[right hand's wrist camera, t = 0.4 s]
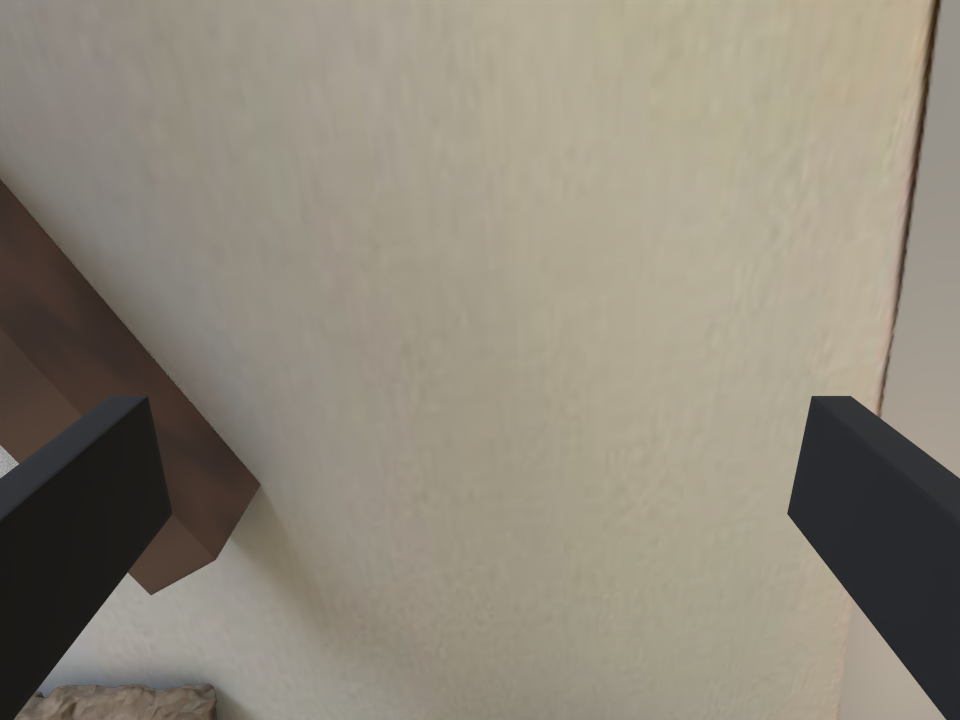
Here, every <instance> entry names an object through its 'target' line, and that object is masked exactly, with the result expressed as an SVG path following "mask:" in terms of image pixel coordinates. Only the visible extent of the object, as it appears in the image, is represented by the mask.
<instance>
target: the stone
mask: <svg viewBox="0 0 960 720" xmlns="http://www.w3.org/2000/svg"><path fill="white" fill-rule="evenodd" d="M216 702H217V701H216V694H215V691H214V689H213V686H212V685H210V684H201V685H188V684H187V685H185V686H183V687H179V688H169V689H163V690H157V689H154V688H149V687H147V686H145V685H135V684H132V685H129V686H125V685H121V686H119V687H116V688H113V687H101V686H98V685H91V686H78V685H66V686H65V687H57V688H54V690H53V691H52V693H51V694H50V696H49V697H48V698H44V697H43V695H42V692H38V691H35V693H34V694H33V695H32V697H31V698H30V699H29V700H28V702H27V703H26V704H25V706H24V707H23V708H22V710H21V711H20V712H19V713H18V715H17V716H16V717H15V719H14V720H216V709H215V704H216Z"/></svg>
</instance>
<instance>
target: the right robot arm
mask: <svg viewBox="0 0 960 720" xmlns="http://www.w3.org/2000/svg"><path fill="white" fill-rule="evenodd" d="M172 514H173V513H172V508H171V504H170V499H169V494H168V489H167V484H166V480H165V475H164V470H163V465H162V460H161V456H160V451H159V446H158V441H157V436H156V432H155V427H154V422H153V417H152V412H151V408H150V403H149V398H148V396H109V397H108V398H106V399H105V400H104V401H102V402H101V403H100V404H98V405H97V406H96V407H94V408H93V409H92V410H90V411H89V412H88V413H86V414H85V415H84V416H82V417H81V418H80V419H78V420H77V421H76V422H74V423H73V424H72V425H70V426H69V427H68V428H67V429H65V430H64V431H63V432H61V433H60V434H59V435H57V436H56V437H55V438H53V439H52V440H51V441H49V442H48V443H47V444H45V445H44V446H43V447H41V448H40V449H39V450H37V451H36V452H35V453H33V454H32V455H31V456H29V457H28V458H27V459H26V460H24V461H23V462H22V463H20V464H19V465H18V466H16V467H15V468H14V469H12V470H11V471H10V472H8V473H7V474H6V475H4V476H3V477H2V478H0V720H14V719H15V717H16V716H17V715H18V713H19V712H20V711H21V710H22V708H23V707H24V706H25V704H26V703H27V702H28V700H29V699H30V698H31V697H32V695H33V694H34V693H35V691H36V690H37V689H38V688H39V686H40V685H41V684H42V682H43V681H44V680H45V678H46V677H47V676H48V675H49V673H50V672H51V671H52V669H53V668H54V667H55V666H56V664H57V663H58V662H59V660H60V659H61V658H62V656H63V655H64V654H65V653H66V651H67V650H68V649H69V647H70V646H71V645H72V643H73V642H74V641H75V640H76V638H77V637H78V636H79V634H80V633H81V632H82V631H83V629H84V628H85V627H86V625H87V624H88V623H89V621H90V620H91V619H92V618H93V616H94V615H95V614H96V612H97V611H98V610H99V609H100V607H101V606H102V605H103V603H104V602H105V601H106V599H107V598H108V597H109V596H110V594H111V593H112V592H113V590H114V589H115V588H116V587H117V585H118V584H119V583H120V581H121V580H122V579H123V577H124V576H125V575H126V574H127V572H128V571H129V570H130V568H131V567H132V566H133V565H134V563H135V562H136V561H137V559H138V558H139V557H140V555H141V554H142V553H143V552H144V550H145V549H146V548H147V546H148V545H149V544H150V543H151V541H152V540H153V539H154V537H155V536H156V535H157V533H158V532H159V531H160V530H161V528H162V527H163V526H164V524H165V523H166V522H167V520H168V519H169V518H170V517H171V515H172ZM787 514H788V515H789V517H790V518H791V519H792V520H793V522H794V523H795V524H796V526H797V527H798V528H799V530H800V531H801V532H802V533H803V535H804V536H805V537H806V539H807V540H808V541H809V543H810V544H811V545H812V546H813V548H814V549H815V550H816V552H817V553H818V554H819V555H820V557H821V558H822V559H823V561H824V562H825V563H826V565H827V566H828V567H829V568H830V570H831V571H832V572H833V574H834V575H835V576H836V577H837V579H838V580H839V581H840V583H841V584H842V585H843V587H844V588H845V589H846V590H847V592H848V593H849V594H850V596H851V597H852V598H853V599H854V601H855V602H856V603H857V605H858V606H859V607H860V608H861V610H862V611H863V612H864V614H865V615H866V616H867V618H868V619H869V620H870V621H871V623H872V624H873V625H874V627H875V628H876V629H877V631H878V632H879V633H880V634H881V636H882V637H883V638H884V640H885V641H886V642H887V643H888V645H889V646H890V647H891V649H892V650H893V651H894V653H895V654H896V655H897V656H898V658H899V659H900V660H901V662H902V663H903V664H904V666H905V667H906V668H907V669H908V671H909V672H910V673H911V674H912V676H913V677H914V678H915V680H916V681H917V682H918V684H919V685H920V686H921V688H922V689H923V690H924V691H925V693H926V694H927V695H928V697H929V698H930V699H931V700H932V702H933V703H934V704H935V706H936V707H937V708H938V710H939V711H940V712H941V713H942V715H943V716H944V717H945V719H946V720H960V478H958V477H957V476H956V475H954V474H953V473H952V472H950V471H949V470H948V469H946V468H945V467H944V466H942V465H941V464H940V463H938V462H937V461H936V460H934V459H933V458H932V457H930V456H929V455H928V454H927V453H925V452H924V451H923V450H921V449H920V448H919V447H917V446H916V445H915V444H913V443H912V442H911V441H909V440H908V439H907V438H905V437H904V436H903V435H901V434H900V433H899V432H897V431H896V430H895V429H893V428H892V427H891V426H890V425H888V424H887V423H886V422H884V421H883V420H882V419H880V418H879V417H878V416H876V415H875V414H874V413H872V412H871V411H870V410H868V409H867V408H866V407H864V406H863V405H862V404H860V403H859V402H858V401H856V400H855V399H854V398H852V397H851V396H812V398H811V403H810V408H809V412H808V417H807V422H806V427H805V432H804V436H803V441H802V446H801V451H800V456H799V460H798V465H797V470H796V475H795V480H794V484H793V489H792V494H791V499H790V504H789V508H788V513H787Z"/></svg>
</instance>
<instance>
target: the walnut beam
mask: <svg viewBox="0 0 960 720" xmlns="http://www.w3.org/2000/svg"><path fill="white" fill-rule="evenodd" d="M109 396H148V398H149V403H150V408H151V412H152V417H153V422H154V427H155V432H156V436H157V441H158V446H159V451H160V456H161V460H162V465H163V470H164V475H165V480H166V484H167V489H168V494H169V499H170V504H171V508H172V513H173V514H172V515H171V517H170V518H169V519H168V520H167V522H166V523H165V524H164V526H163V527H162V528H161V530H160V531H159V532H158V533H157V535H156V536H155V537H154V539H153V540H152V541H151V543H150V544H149V545H148V546H147V548H146V549H145V550H144V552H143V553H142V554H141V555H140V557H139V558H138V559H137V561H136V562H135V563H134V565H133V566H132V567H131V568H130V570H129V571H128V573H129V574H130V575H131V576H132V577H133V578H134V579H135V580H136V581H137V582H138V583H139V584H140V585H141V586H142V587H143V588H144V589H145V590H146V591H147V592H148V593H149V594H150V595H152V594H154V593H156V592H158V591H160V590H162V589H163V588H165V587H167V586H169V585H171V584H172V583H174V582H176V581H178V580H180V579H182V578H183V577H185V576H187V575H189V574H191V573H193V572H194V571H196V570H198V569H200V568H202V567H203V566H205V565H207V564H209V563H211V562H213V561H214V560H216V559H217V557H218V555H219V554H220V552H221V550H222V548H223V547H224V545H225V543H226V542H227V540H228V538H229V537H230V535H231V533H232V532H233V530H234V528H235V527H236V525H237V523H238V522H239V520H240V518H241V517H242V515H243V513H244V511H245V510H246V508H247V506H248V505H249V503H250V501H251V500H252V498H253V496H254V495H255V493H256V491H257V490H258V488H259V486H260V483H259V482H258V481H257V480H256V479H255V477H254V476H253V475H252V474H251V473H250V472H249V470H248V469H247V468H246V467H245V466H244V464H243V463H242V462H241V461H240V460H239V459H238V457H237V456H236V455H235V454H234V453H233V452H232V450H231V449H230V448H229V447H228V446H227V445H226V443H225V442H224V441H223V440H222V439H221V438H220V436H219V435H218V434H217V433H216V432H215V430H214V429H213V428H212V427H211V426H210V425H209V423H208V422H207V421H206V420H205V419H204V418H203V416H202V415H201V414H200V413H199V412H198V411H197V409H196V408H195V407H194V406H193V405H192V404H191V402H190V401H189V400H188V399H187V398H186V396H185V395H184V394H183V393H182V392H181V391H180V389H179V388H178V387H177V386H176V385H175V384H174V382H173V381H172V380H171V379H170V378H169V377H168V375H167V374H166V373H165V372H164V371H163V370H162V368H161V367H160V366H159V365H158V364H157V362H156V361H155V360H154V359H153V358H152V357H151V355H150V354H149V353H148V352H147V351H146V350H145V348H144V347H143V346H142V345H141V344H140V343H139V341H138V340H137V339H136V338H135V337H134V336H133V334H132V333H131V332H130V331H129V330H128V328H127V327H126V326H125V325H124V324H123V323H122V321H121V320H120V319H119V318H118V317H117V316H116V314H115V313H114V312H113V311H112V310H111V309H110V307H109V306H108V305H107V304H106V303H105V302H104V300H103V299H102V298H101V297H100V296H99V294H98V293H97V292H96V291H95V290H94V289H93V287H92V286H91V285H90V284H89V283H88V282H87V280H86V279H85V278H84V277H83V276H82V275H81V273H80V272H79V271H78V270H77V269H76V268H75V266H74V265H73V264H72V263H71V262H70V260H69V259H68V258H67V257H66V256H65V255H64V253H63V252H62V251H61V250H60V249H59V248H58V246H57V245H56V244H55V243H54V242H53V241H52V239H51V238H50V237H49V236H48V235H47V234H46V232H45V231H44V230H43V229H42V228H41V226H40V225H39V224H38V223H37V222H36V221H35V219H34V218H33V217H32V216H31V215H30V214H29V212H28V211H27V210H26V209H25V208H24V207H23V205H22V204H21V203H20V202H19V201H18V200H17V198H16V197H15V196H14V195H13V194H12V192H11V191H10V190H9V189H8V188H7V187H6V185H5V184H4V183H3V182H2V181H1V180H0V445H1V446H2V447H3V448H4V449H5V450H6V451H7V452H8V453H9V454H10V455H11V456H12V457H13V458H14V459H15V460H16V461H17V462H18V463H19V464H20V463H22V462H23V461H24V460H26V459H27V458H28V457H29V456H31V455H32V454H33V453H35V452H36V451H37V450H39V449H40V448H41V447H43V446H44V445H45V444H47V443H48V442H49V441H51V440H52V439H53V438H55V437H56V436H57V435H59V434H60V433H61V432H63V431H64V430H65V429H67V428H68V427H69V426H70V425H72V424H73V423H74V422H76V421H77V420H78V419H80V418H81V417H82V416H84V415H85V414H86V413H88V412H89V411H90V410H92V409H93V408H94V407H96V406H97V405H98V404H100V403H101V402H102V401H104V400H105V399H106V398H108V397H109Z"/></svg>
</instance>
